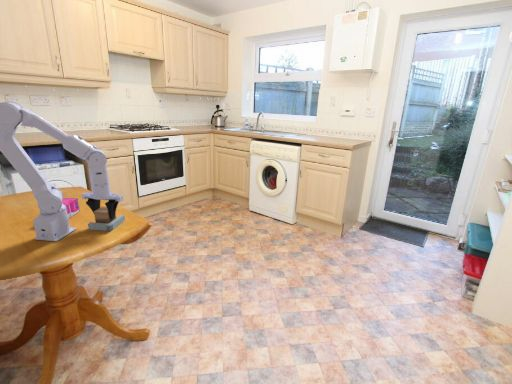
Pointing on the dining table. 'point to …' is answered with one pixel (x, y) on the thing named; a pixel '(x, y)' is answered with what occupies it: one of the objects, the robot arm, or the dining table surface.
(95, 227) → the grey flat angled piece
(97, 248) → the dining table surface
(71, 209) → the supplement box
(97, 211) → the walnut cube
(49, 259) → the dining table surface
